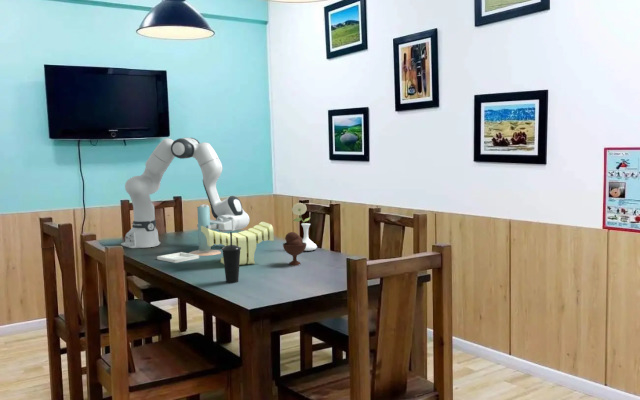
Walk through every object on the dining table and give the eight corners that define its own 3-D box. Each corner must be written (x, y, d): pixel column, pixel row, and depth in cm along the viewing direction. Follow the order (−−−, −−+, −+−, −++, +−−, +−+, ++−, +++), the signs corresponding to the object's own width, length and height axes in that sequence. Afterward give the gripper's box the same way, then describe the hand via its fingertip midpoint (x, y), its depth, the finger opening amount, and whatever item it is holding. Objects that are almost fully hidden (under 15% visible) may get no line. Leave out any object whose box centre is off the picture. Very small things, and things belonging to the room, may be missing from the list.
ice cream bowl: (304, 266, 259) (303, 233, 257) (279, 266, 261) (279, 233, 260) (309, 262, 269) (308, 230, 268) (286, 261, 271) (285, 229, 270)
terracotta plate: (182, 254, 292) (182, 252, 292) (207, 250, 304) (207, 248, 304) (202, 258, 282) (202, 256, 282) (227, 253, 294) (227, 251, 294)
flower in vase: (318, 248, 306) (317, 201, 304) (315, 252, 295) (315, 203, 292) (293, 248, 307) (293, 201, 305) (290, 252, 296) (289, 203, 294)
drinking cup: (223, 279, 235) (222, 231, 233) (242, 279, 236) (241, 230, 234) (221, 284, 228) (220, 233, 226) (241, 283, 228) (240, 233, 226)
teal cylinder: (196, 250, 293) (194, 204, 290) (205, 248, 297) (204, 203, 295) (204, 251, 289) (202, 205, 287) (213, 249, 293) (211, 204, 291)
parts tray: (157, 260, 277) (157, 256, 277) (181, 256, 288) (181, 252, 288) (175, 264, 268) (175, 259, 268) (199, 259, 279) (199, 255, 279)
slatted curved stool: (210, 269, 255) (209, 229, 254) (201, 263, 270) (200, 225, 268) (274, 263, 268) (273, 225, 266) (262, 257, 282) (262, 221, 281)
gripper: (210, 216, 308) (189, 218, 297) (236, 218, 295) (215, 221, 285) (210, 227, 309) (190, 230, 298) (237, 231, 296) (216, 234, 285)
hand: (202, 226), depth 291 cm, fingers closed on teal cylinder, 6 cm apart
